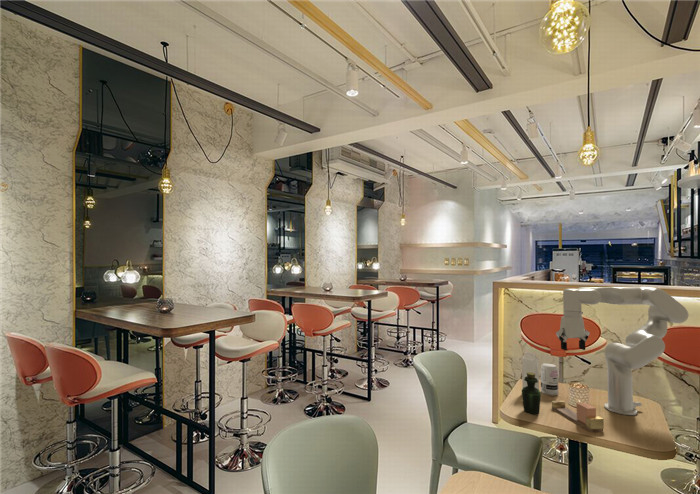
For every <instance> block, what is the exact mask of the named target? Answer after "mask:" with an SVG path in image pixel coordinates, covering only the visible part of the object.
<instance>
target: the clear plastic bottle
mask: <svg viewBox="0 0 700 494" xmlns="http://www.w3.org/2000/svg"><path fill="white" fill-rule="evenodd" d="M521 362H522V363H521V364H522V366H521V369H522V370H521V372H522V375H521V377H522V379H521V380H522V385H521V386H522V389H523V388H524V387H526V386H528V385H527V381H525V380H524V379H525V377H527V372H532V373H535V378H537V380H538V382H537V383H535V388H537V389H538V390H540V378H539V377H540V374H539V373H540V372H539V367H540V366H539V365H540V364H539V358H538V357H537V354H536V353H535V352H530V351H524V355H523V356H522V358H521Z"/></svg>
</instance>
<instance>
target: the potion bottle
mask: <svg viewBox="0 0 700 494" xmlns="http://www.w3.org/2000/svg"><path fill="white" fill-rule="evenodd" d="M524 380H525V381H527V385H528V386H526V387H524V388H523V387H522V388H521V395H522V396H521V397H522V398H521V399H522V405H523V407H522V408H523V411H524V413H526V414H529V415H534V416H537V415H539V414H540V408H541V396H542V391H541V389H539V390H538V389H537V388H535V383H537V382H538V380H537V378H535V373H532V372H527V377H525V379H524Z"/></svg>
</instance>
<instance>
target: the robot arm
mask: <svg viewBox="0 0 700 494" xmlns="http://www.w3.org/2000/svg"><path fill="white" fill-rule="evenodd" d="M562 301H563V302H562V303H563V304H562V305H563V309H562V311H563V316H561V318H560V325H559V330H558V331H556V332H555V334H556V337H557V339H558V340H559V341H560V349H561V350H562V351H568V343H567V340H568V339H579V340H578V349H579V350H583V351H585V350H586V342H587V340H588V339H589V336H590V334H591V332H590V331H588V330H586V329H585V321H584V318H583V316H582V315H584V312H583V311H582V304H584V305H591V306H592V305H597V304H598V305H599V303H602V304H609V305H620V306H623V305H625V306H626V305H628V306H629V305H631V306H633V305H636V306H637V305H639V306H640V305H642V306H643V305H646V306H649V307H648V310H647V313H648V314H647V315H648V318H647V321H646V323H645V324H643V325H642V326H640V327H638V328H637V329H635V330H634V331H632V332H630V333H628V335H627V336H626V338H625V344H623V343H620V342H610V343H608V344H606V346H605V347H604V356H605V361H606V368H607V369H606V370H607V373H606V374H607V402H605V403H604V404H603V405H604V408H605V409H606V410H608V411H610V412H613V413H615V414H619V415H624V416H636V415H637V414H638V410H637V409H636V407H642V405H643V404H642V402H641V401H634V399H633V398H634V397H633V396H634V395H633V394H634V391H633V372H632V371H633V370H638V369H641V368H643V367H645V366H647V365H648V364H650V363H651V362H653V361H655V360H657V358H659V357H660V356H662V355H663V354H664V352H665V349H666V344H665V342H664V340H663V338H664V337H665V336H666V335H667V333H668V323H674V324H682V323H685V322H686V321H687V320H688V318H689V312H688V310H687V308H686V307H685V306H684V305H683V304H681V303H680V302H679V301H678V300H676V298H674V297H673V296H671V295H670V294H669V293H668V292H666V291H665V290H663V289H662V288H661V289H660V288H658V287H648V286H608V287H605V286H604V287H603V286H602V287H597V286H596V287H592V286H591V287H577V288H564V289H563V291H562Z"/></svg>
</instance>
